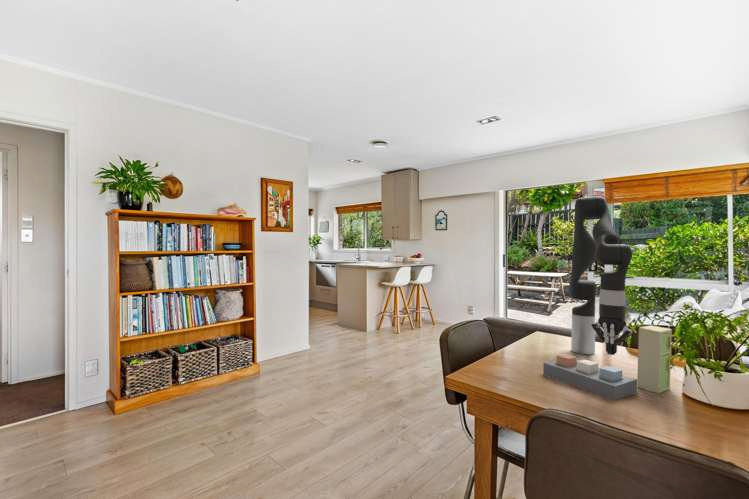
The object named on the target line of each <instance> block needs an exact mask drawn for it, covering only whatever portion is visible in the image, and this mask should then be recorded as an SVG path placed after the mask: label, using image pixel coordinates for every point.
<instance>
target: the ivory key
mask: <svg viewBox="0 0 749 499" xmlns="http://www.w3.org/2000/svg"><path fill="white" fill-rule="evenodd" d="M598 368H599V362H595V361H592V360H588V359H581V360H577V370H579V371H582V372H585V373H588V374H593V373H597V372H598Z"/></svg>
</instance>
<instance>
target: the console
mask: <svg viewBox="0 0 749 499" xmlns="http://www.w3.org/2000/svg"><path fill="white" fill-rule="evenodd" d="M542 364H543V369H542V371H543V372H542V374H543V375H544V376H547V377H549V378H552V379H555V380H558V381H561V382H562V383H566V384H569V385H571V386H573V387H574V386H575V387H577V388H580V389H582V390H586V391H588V392H591V393H593V394H595V395H596V394H598V395H600V396H602V397H605V398H608V399H610V400H614V401H617V400H620V399H623V398H626V397H628V396H631V395H634V394H637V392H638V386H637V378H633V377H630V376H628V375H627V376H626V375H624V374H622V380H620V381H616V382H613V381H610V380H607V379H604V378H601V377H599V372H600V368H601V367H598V372H597V373H593V374H588V373H585V372H582V371H579V370H577V365H576V366H572V367H566V366H563V365H560V364H557V359H553V360H548V361H545V362H543V363H542Z"/></svg>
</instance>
